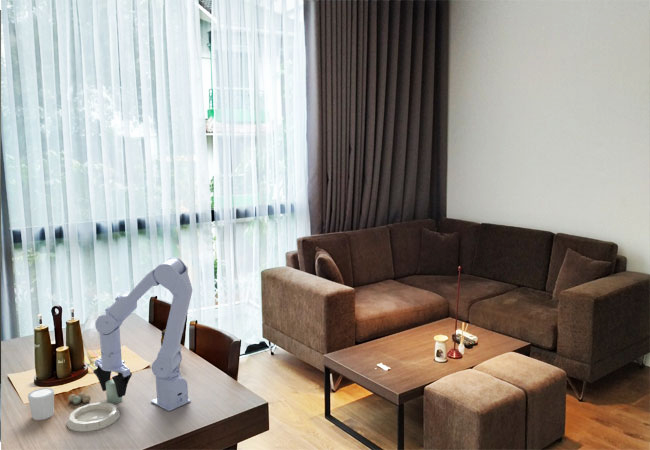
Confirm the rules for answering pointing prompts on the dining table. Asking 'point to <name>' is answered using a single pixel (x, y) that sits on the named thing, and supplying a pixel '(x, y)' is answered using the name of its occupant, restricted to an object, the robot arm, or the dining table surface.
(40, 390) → the white cylinder
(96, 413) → the round bowl
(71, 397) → the bead pile
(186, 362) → the dining table surface
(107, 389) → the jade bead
